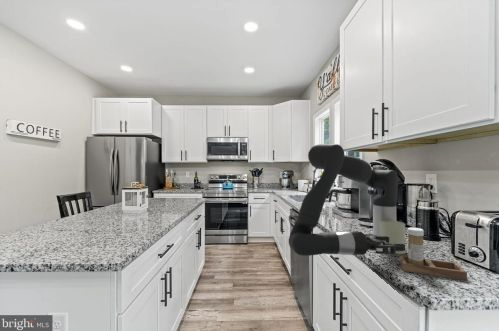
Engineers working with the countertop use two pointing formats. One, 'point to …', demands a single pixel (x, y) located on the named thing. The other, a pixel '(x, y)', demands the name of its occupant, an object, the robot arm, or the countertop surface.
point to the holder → (435, 268)
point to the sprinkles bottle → (415, 246)
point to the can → (393, 232)
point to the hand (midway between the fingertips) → (396, 243)
